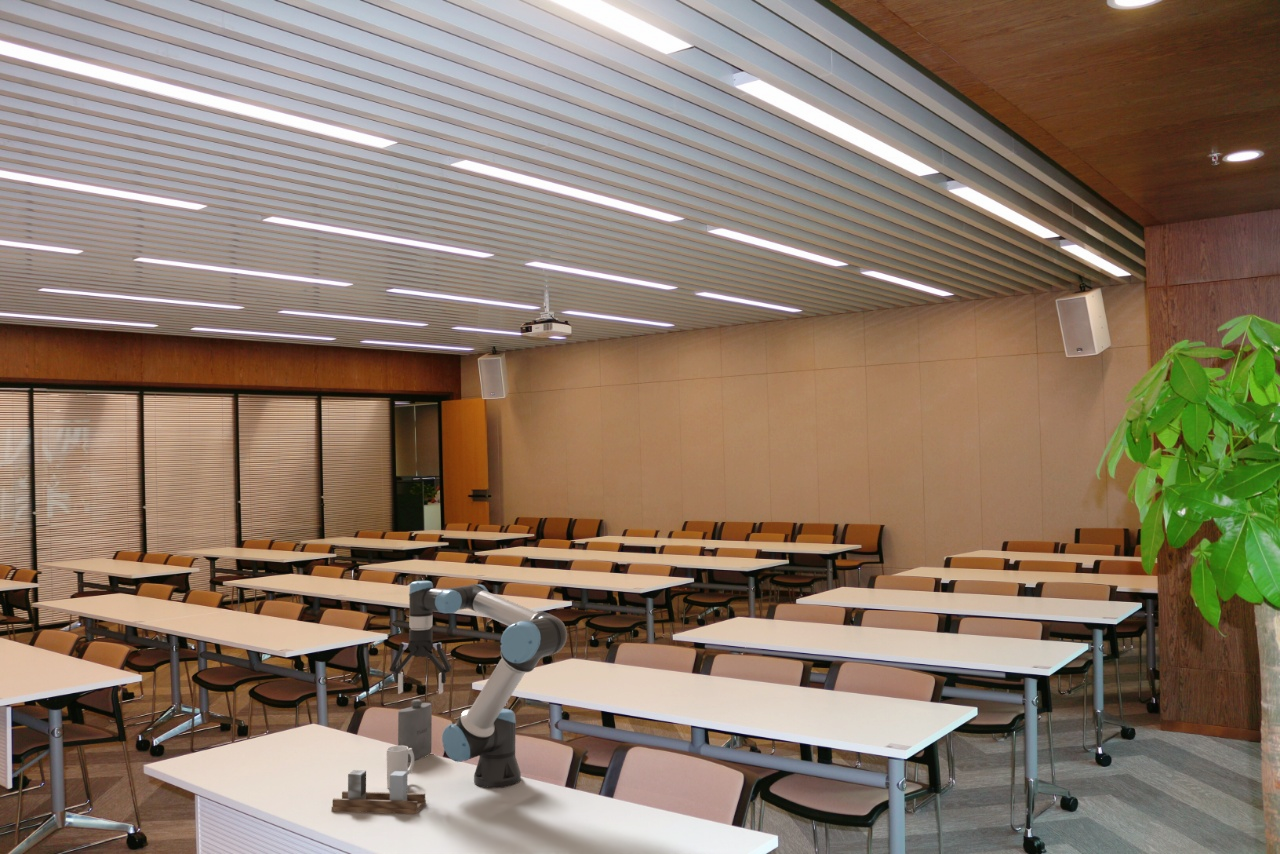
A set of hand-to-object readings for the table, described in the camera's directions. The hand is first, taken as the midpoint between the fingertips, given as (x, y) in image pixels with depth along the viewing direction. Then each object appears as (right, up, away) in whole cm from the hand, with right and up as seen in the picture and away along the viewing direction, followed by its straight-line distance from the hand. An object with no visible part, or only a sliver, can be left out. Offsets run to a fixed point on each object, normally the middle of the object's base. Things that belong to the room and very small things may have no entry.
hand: (420, 693), depth 315 cm
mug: (-5, -28, -7) cm, 29 cm away
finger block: (0, -26, -28) cm, 38 cm away
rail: (-6, -27, -28) cm, 39 cm away
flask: (-7, -30, +24) cm, 39 cm away
